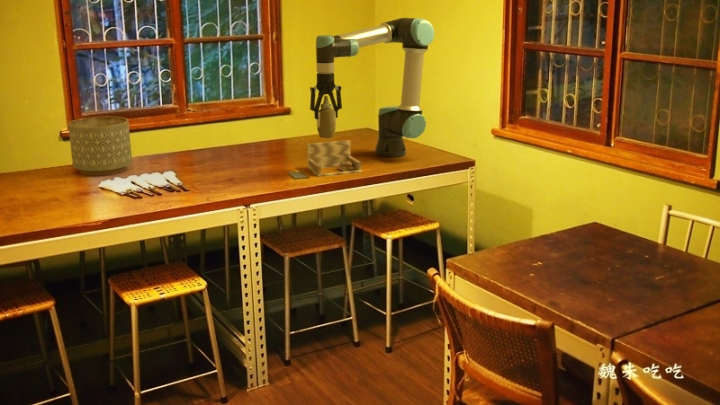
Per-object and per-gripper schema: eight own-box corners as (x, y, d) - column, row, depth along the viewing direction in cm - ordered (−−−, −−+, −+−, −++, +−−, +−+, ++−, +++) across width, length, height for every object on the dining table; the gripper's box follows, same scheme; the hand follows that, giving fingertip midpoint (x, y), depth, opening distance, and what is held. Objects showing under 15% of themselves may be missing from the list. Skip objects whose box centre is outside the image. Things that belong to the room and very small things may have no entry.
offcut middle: (348, 167, 356) (348, 164, 356) (354, 170, 351) (353, 166, 351) (338, 168, 354) (338, 165, 354) (343, 171, 350) (343, 167, 349)
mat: (308, 171, 353) (308, 170, 353) (316, 177, 343) (316, 176, 343) (288, 173, 350) (288, 172, 349) (295, 179, 340) (295, 178, 340)
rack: (349, 166, 362) (349, 140, 359) (362, 174, 348) (362, 147, 344) (307, 170, 355) (307, 143, 352) (319, 178, 341) (318, 151, 337)
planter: (63, 170, 357) (57, 122, 351) (113, 161, 375) (109, 114, 368) (91, 180, 340) (86, 129, 334) (143, 169, 358) (139, 120, 352)
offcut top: (349, 164, 355) (349, 161, 355) (352, 166, 351) (352, 163, 350) (340, 165, 354) (340, 161, 354) (343, 167, 350) (343, 164, 349)
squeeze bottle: (333, 139, 341) (332, 97, 336) (315, 138, 343) (314, 97, 338) (337, 135, 349) (337, 94, 344) (319, 135, 350) (319, 94, 345)
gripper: (343, 70, 344) (344, 122, 351) (301, 72, 338) (302, 126, 344) (349, 72, 338) (350, 125, 344) (306, 74, 331) (307, 129, 338)
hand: (326, 125), depth 344 cm, fingers closed on squeeze bottle, 6 cm apart
